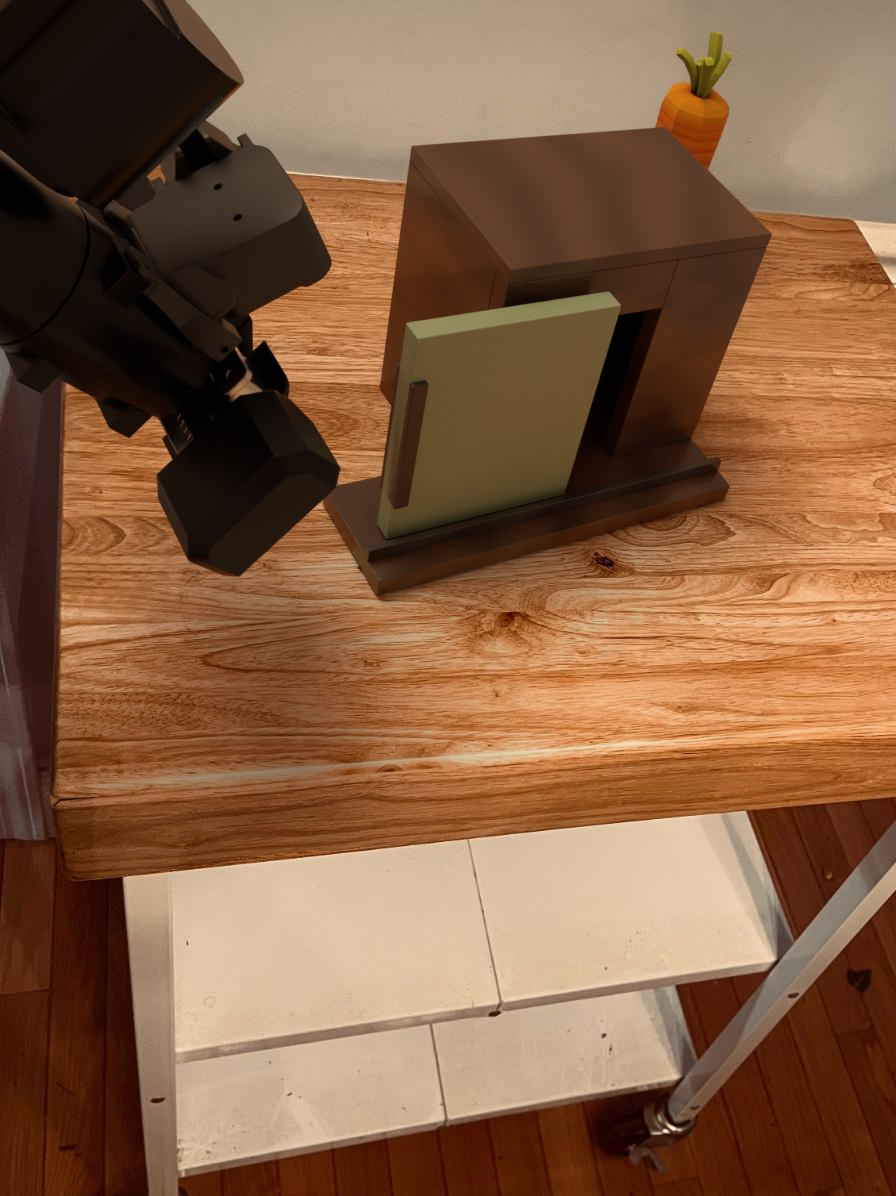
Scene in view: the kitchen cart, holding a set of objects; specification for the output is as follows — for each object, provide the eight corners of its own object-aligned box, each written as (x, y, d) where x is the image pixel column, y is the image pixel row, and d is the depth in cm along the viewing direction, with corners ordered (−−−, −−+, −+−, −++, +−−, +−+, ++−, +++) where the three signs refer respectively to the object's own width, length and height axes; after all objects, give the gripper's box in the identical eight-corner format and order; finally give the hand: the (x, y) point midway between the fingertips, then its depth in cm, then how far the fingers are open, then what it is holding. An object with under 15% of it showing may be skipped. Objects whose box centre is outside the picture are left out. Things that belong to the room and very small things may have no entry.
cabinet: (376, 596, 61) (414, 350, 49) (266, 408, 68) (277, 154, 56) (724, 499, 72) (821, 281, 61) (599, 347, 79) (664, 126, 68)
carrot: (663, 260, 88) (726, 64, 77) (612, 227, 90) (667, 29, 79) (700, 240, 91) (765, 49, 80) (650, 208, 93) (708, 16, 82)
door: (388, 544, 62) (420, 343, 52) (374, 520, 62) (402, 318, 53) (567, 498, 67) (625, 309, 58) (551, 477, 68) (606, 287, 58)
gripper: (298, 268, 35) (541, 462, 49) (103, -27, 44) (355, 207, 58) (46, 512, 37) (348, 634, 51) (-93, 182, 46) (196, 361, 59)
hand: (313, 443), depth 55 cm, fingers closed
